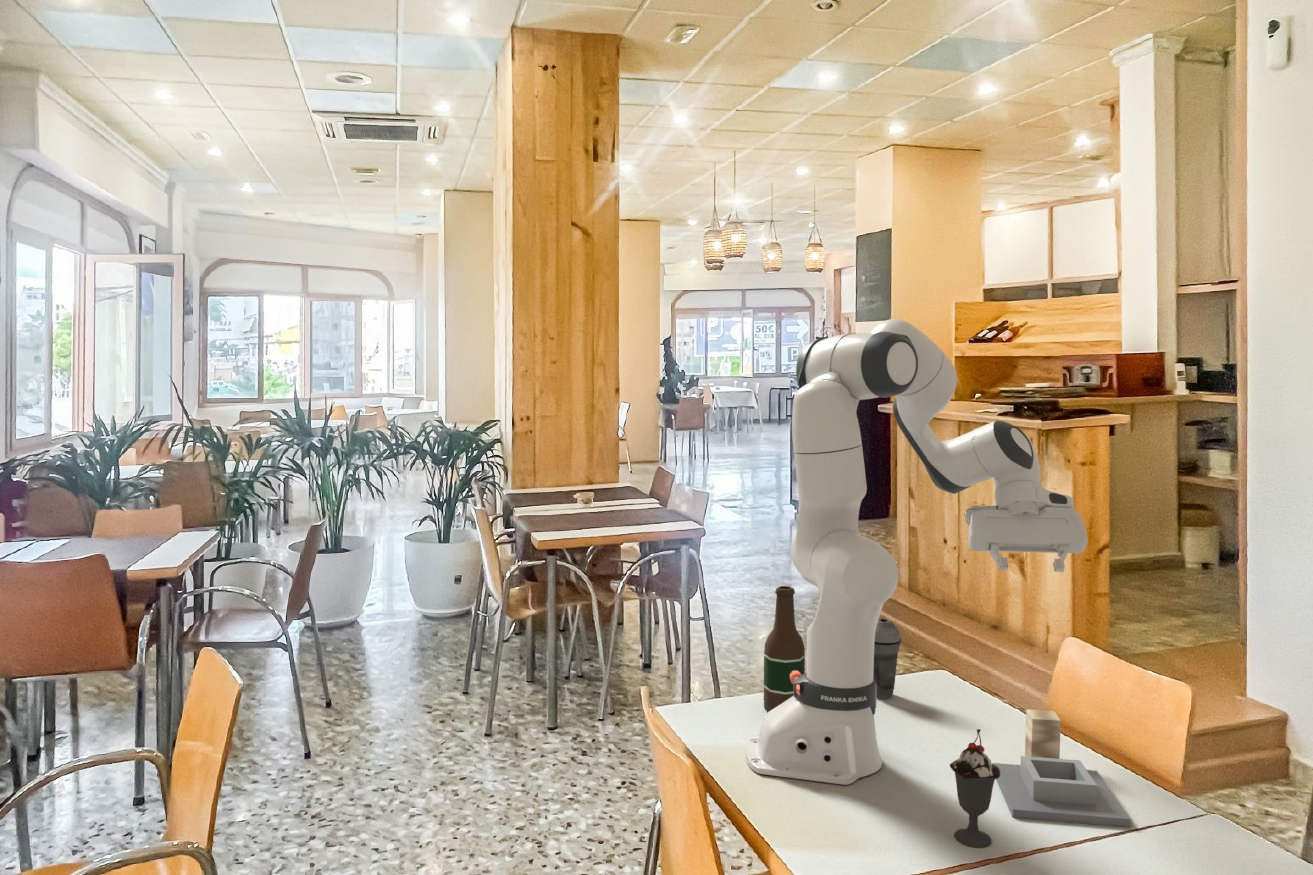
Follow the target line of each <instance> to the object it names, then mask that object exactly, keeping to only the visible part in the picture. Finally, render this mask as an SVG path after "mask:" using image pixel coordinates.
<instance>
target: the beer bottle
mask: <svg viewBox="0 0 1313 875" xmlns="http://www.w3.org/2000/svg"><path fill="white" fill-rule="evenodd" d="M774 593H775V595H776V601H775V614H774V624H773V628H772V630H771V632H770V633H769V634H768V636H767V638H766V640H765V643H764V649H763V650H764V651H763V708H764V710H765V709H766V710H767V711H766V710H765V711H766V712H767V713H768V712H769V711H771V710H772V709H774V708H775V707H777V706H779V705H780V704H782V703H783V702H785V701H786V700H788V699H789V698H791V697H792V696H794V691H793V686H794V684H792V683H791V681H790V673H792V671H795V670H796V671H799V672H800V673H801V675H803V674H804V673H806V664H805V663H806V652H805V651H806V650H805V644H804V641H803V638H802V636H801V635H800V633H799V631H798V630H797V626H796V622H795V621H796V619H795V602H794V600H795V598H794V594H796V591H795V589H794V588H793V587H791V586H789V585H781V586H778V587H776V589H775V592H774Z"/></svg>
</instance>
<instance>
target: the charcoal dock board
mask: <svg viewBox="0 0 1313 875" xmlns="http://www.w3.org/2000/svg"><path fill="white" fill-rule="evenodd" d="M991 764H993V765H996V766H997V767H998V768H999V769H1000V777H999V778H998V779H995V780H996V782H997V784H998V787H999V790H1000V792H1001V794H1002V797H1003V798H1004V801H1005V803H1006V806H1007V808H1008V810H1009V813H1010V815H1011V817H1012V818H1018V819H1029V820H1040V821H1041V820H1042V821H1053V822H1054V821H1055V822H1062V823H1063V822H1064V823H1065V822H1066V823H1074V824H1076V823H1078V824H1089V825H1101V826H1111V827H1112V826H1113V827H1121V828H1124V827H1125V828H1131V822H1132V821H1131V817H1130V816H1129V815H1128V813H1127V811H1126V810H1125V809H1124V808H1123V806H1122V804H1121V803H1120V802H1119V800H1118V799H1117V797H1116V796H1115V794H1114V793H1113V792H1112V790H1111V789H1110V787H1109V786H1108V785H1107V783H1106V781H1105V780H1104V779H1103V777H1102V775H1101V774H1100V773H1099V772H1098V770H1092V769H1090V770H1089V769H1086V766H1084V763H1082V761H1081V760H1078V759H1066V758H1064V759H1063V758H1060V759H1056V758H1042V757H1028V756H1025V755H1020V764H1013V763H1012V764H1011V763H999V762H991Z"/></svg>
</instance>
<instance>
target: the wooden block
mask: <svg viewBox="0 0 1313 875" xmlns="http://www.w3.org/2000/svg"><path fill="white" fill-rule="evenodd" d="M1025 709H1026V710H1025V712H1026V713H1025V714H1026V715H1025V744H1024V745H1025V746H1024V756H1028V757H1042V758H1056V759H1061V757H1060V755H1061V750H1060V749H1061V728H1062V727H1061V726H1062V725H1061V723H1062V722H1061V721H1062V720H1061V719H1060V718H1059V715H1058V714H1057V713H1056V712H1055V710H1047V709H1046V710H1045V709H1044V710H1042V709H1029V708H1028V709H1027V708H1025Z"/></svg>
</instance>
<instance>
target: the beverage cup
mask: <svg viewBox="0 0 1313 875" xmlns="http://www.w3.org/2000/svg"><path fill="white" fill-rule="evenodd" d="M901 643H902V639H901V633H900V631H899V629H898V627H897V625H896V624H895V623H894V622H893V621H891V620H888V619H887V618H881V615H880V616H879V619H878V623H877V627H876V632H875V641H874V671H873V677H874V679H875V681H876V687H877V700H889V699H892V698H894V690H895V684H896V676H897V675H896V674H897V664H898V663H897V662H898V654H899V651H900V646H901Z"/></svg>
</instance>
